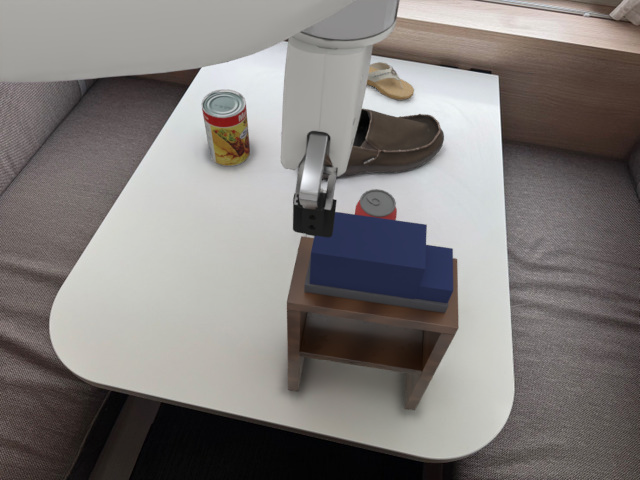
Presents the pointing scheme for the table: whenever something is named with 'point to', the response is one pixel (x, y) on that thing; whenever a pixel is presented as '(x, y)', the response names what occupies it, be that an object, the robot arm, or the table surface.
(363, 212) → the beer can
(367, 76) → the robot arm
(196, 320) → the table surface
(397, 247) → the blue stepped block
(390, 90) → the sandal
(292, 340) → the shoe stand
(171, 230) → the table surface
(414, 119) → the loafer
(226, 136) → the canned food
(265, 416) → the table surface
